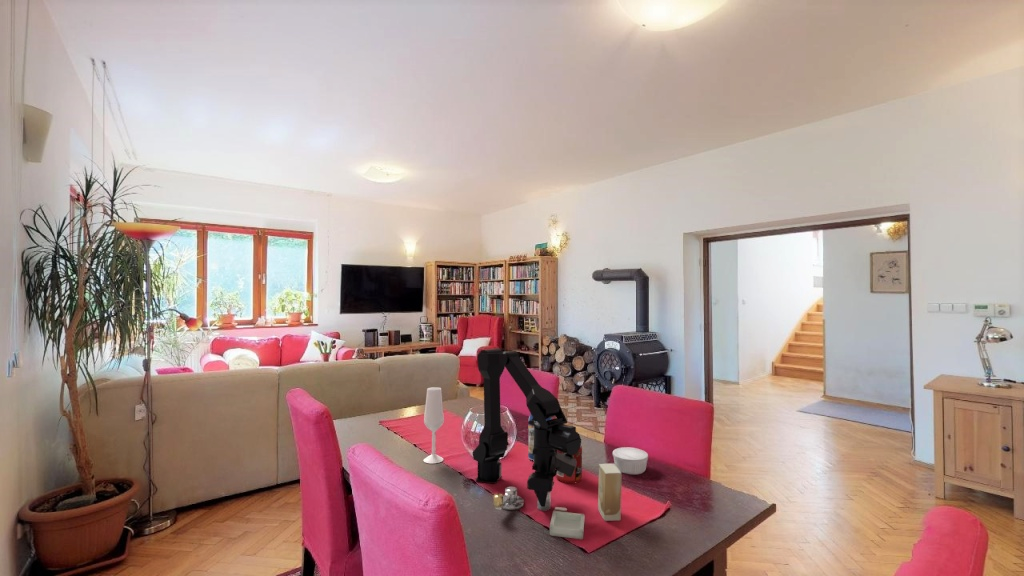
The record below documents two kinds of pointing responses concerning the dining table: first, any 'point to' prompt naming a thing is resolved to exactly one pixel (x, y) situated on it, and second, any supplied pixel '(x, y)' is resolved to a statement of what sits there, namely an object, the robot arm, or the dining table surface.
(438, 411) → the champagne flute
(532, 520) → the dining table surface
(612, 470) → the skincare box
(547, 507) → the glass jar
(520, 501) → the crank base
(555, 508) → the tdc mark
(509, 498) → the crank
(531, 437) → the beverage bottle
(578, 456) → the canned food
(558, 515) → the tray
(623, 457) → the ramekin
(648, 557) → the dining table surface
